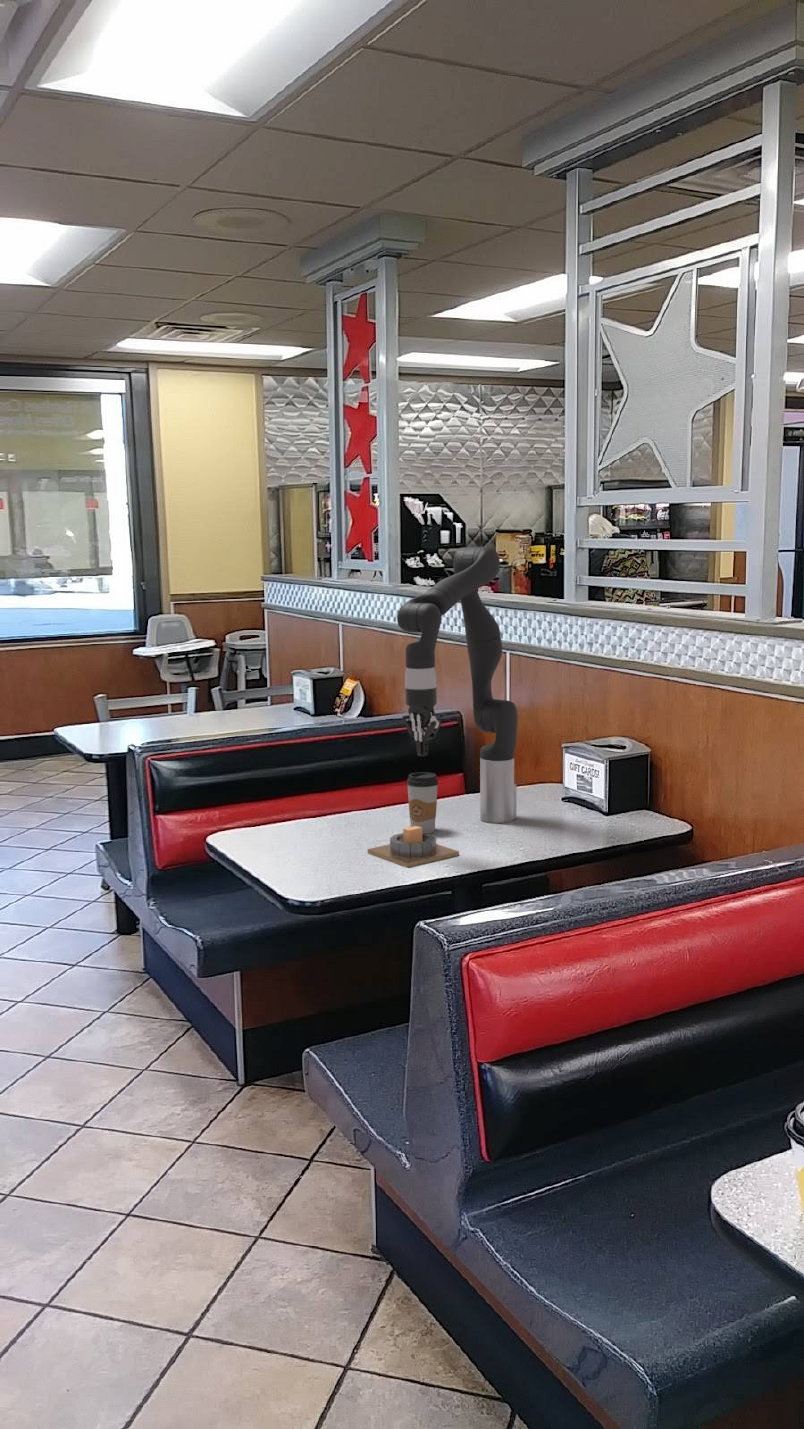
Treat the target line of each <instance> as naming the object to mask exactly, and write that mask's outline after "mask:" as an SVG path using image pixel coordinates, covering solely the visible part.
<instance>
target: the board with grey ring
mask: <svg viewBox="0 0 804 1429" xmlns="http://www.w3.org/2000/svg"><path fill="white" fill-rule="evenodd" d="M389 841H390V842H389V844H386V845H385V844H383V845H380V846H376V847H375V846H374V847H371V848H367V854H369V855H373V856H374V857H378V858H381V859H383V860H386V861H388V862H391V863H394V864H396V865H399V866H403V867H404V868H411V867H416V866H419V865H424V864H429V863H433V862H437V861H441V860H442V861H443V860H445V859H450V858H453V857H457V856H458V857H459V856H460V850H457V849H453V848H449V847H447V846H443V845H441V844H438V843H437V838H436V836H435V835H433V834H429V833H422V842H420V843H406V842H403V832H402V833H397V834H394V835H392V836H391V837H389Z"/></svg>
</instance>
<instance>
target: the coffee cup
mask: <svg viewBox="0 0 804 1429" xmlns="http://www.w3.org/2000/svg"><path fill="white" fill-rule="evenodd" d="M406 781H407V782H406V784H407V785H406V786H407V795H408V796H407V797H408V800H407V801H408V812H409V821H410V822H409V823H410V827H413V826H418V827H421V828H422V833H426V834H429V833H433V832H434V830H435V827H436V817H437V805H438V803H437V802H438V799H437V798H438V785H439V778H438V777H437V774H436V773H433V772H427V771H426V772H423V771H422V772H421V771H419V772H412V773H409V774H408V778H407V779H406Z"/></svg>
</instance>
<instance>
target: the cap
mask: <svg viewBox="0 0 804 1429" xmlns="http://www.w3.org/2000/svg"><path fill="white" fill-rule="evenodd" d="M402 829H403V830H402V831H403V832H402V833H403V842H406V843H420V842H422V828H421V827H418V826H413V827H411V826H409V827H405V828H402Z"/></svg>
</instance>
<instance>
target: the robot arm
mask: <svg viewBox="0 0 804 1429" xmlns="http://www.w3.org/2000/svg"><path fill="white" fill-rule="evenodd" d="M499 556H500V555H499V554H498V552H497V550H496V549H495V548H493V547H491V546H490V547H489V546H466V547H465V546H463V547H459V548H457V550H456V551H455V552H454V555H453V561H452V562H453V563H452V564H453V565H452V566H453V572H454V573H453V575H452V574H451V575H450V576H448V577H445V578H443V579H441V580H439V581H438V582H437V583H435V584H434V585H433V586H431V587H430V588H429V589H428V590H427V591H426V592H425V593H422V594H420V595H418V596H415V597H413V598H411V599H409V600H408V601H406V602H404V603H403V604H402V605H401V607H400V608H399V610H398V612H397V616H396V618H397V619H396V620H397V625H398V627H399V628H400V629H401V630H402V631H404V632H407V633H421V635H420V638H419V641H413V642H410V643H408V644H407V645H406V647H405V672H404V673H405V674H404V675H405V676H404V678H405V679H404V683H405V684H404V686H405V688H404V689H405V705H406V706H408V710H407V712H408V713H407V714H406V715H402V717H401V719H402V721H403V724H404V726H405V727H406V729H407V732H408V734H409V737H410V738H414V741H415V742H416V755H417V757H418V756H419V757H426V756H428V755H429V741H430V740H433V739H435V737H436V735H437V733H438V731H439V730H440V728H441V725H442V724H443V723H442V722H443V721H442V720H438V719H437V718H436V713H435V708H434V707H435V706H436V705H437V701H438V700H437V673H436V667H435V666H436V665H435V664H436V663H435V662H436V659H435V657H436V655H435V652H436V651H435V650H436V646H437V642H438V641H437V640H438V636H439V633H440V628H441V625H442V617H443V616H444V615H445V614H447V613H448V612H449V611H450V610H451V609H452V608H453V607H454V606H455V605H457V604H458V602H460V604H461V609H462V610H461V611H462V616H463V623H464V629H465V632H464V633H465V641H466V647H467V648H466V649H467V655H468V660H469V669H470V676H471V687H472V688H471V689H472V712H473V713H472V714H473V721H474V724H475V727H476V728H477V729H478V731H481V732H483V733H492V734H495V738H494V741H493V742H492V743H491V744H487V745H486V744H485V745H483V746H482V747H481V748H480V752H479V753H480V754H479V756H480V757H479V763H480V764H479V770H480V771H479V774H480V775H479V780H480V783H479V784H480V785H479V788H480V789H479V791H480V792H479V793H480V796H479V798H480V800H479V801H480V803H479V808H480V810H479V813H480V814H479V816H480V820H481V821H483V822H486V823H492V824H493V823H495V824H498V823H499V824H501V823H502V824H503V823H509V822H512V821H513V820H514V819H517V799H518V798H517V795H518V794H517V792H518V789H517V784H516V783H515V751H516V747H517V741H518V740H517V737H518V721H519V720H518V715H519V714H518V709H517V706H516V704H515V703H514V702H512V701H511V700H505V699H496V698H495V699H494V698H493V697H494V696H493V693H492V682H493V680H492V679H493V677H494V675H495V671H496V670H497V668H498V665H499V663H500V661H501V658H502V655H503V644H502V634H501V630H500V627H499V624H498V622H497V621H496V619H495V618H494V616H493V615H492V613H491V612H490V611H489V610H488V608H487V607H486V606H485V605H484V603H483V601H482V599H481V597H480V594H479V591H478V589H479V588H481V587H482V586H484V585H486V584H488V583H490V582H492V581H493V580H494V579H495V578H497V576H498V574H499V572H500V568H501V567H500V566H501V561H500V557H499Z"/></svg>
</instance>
